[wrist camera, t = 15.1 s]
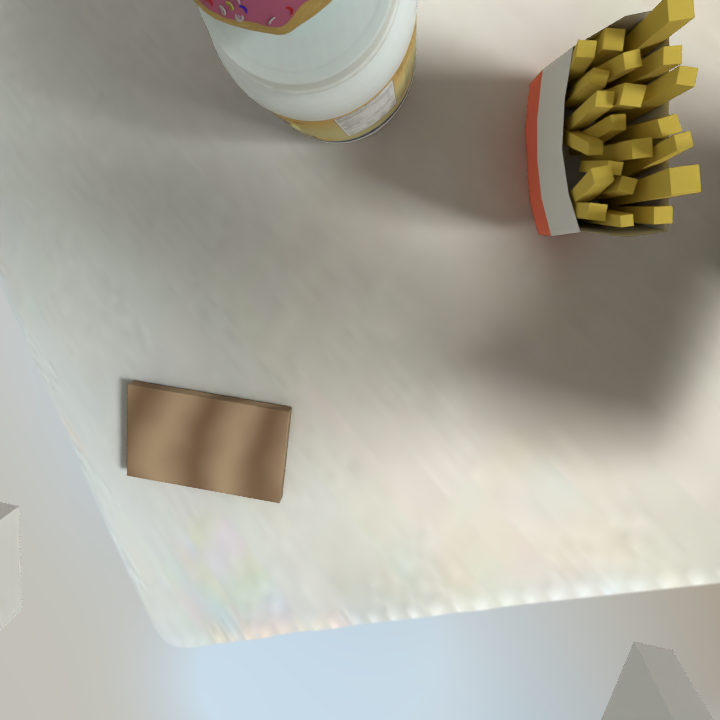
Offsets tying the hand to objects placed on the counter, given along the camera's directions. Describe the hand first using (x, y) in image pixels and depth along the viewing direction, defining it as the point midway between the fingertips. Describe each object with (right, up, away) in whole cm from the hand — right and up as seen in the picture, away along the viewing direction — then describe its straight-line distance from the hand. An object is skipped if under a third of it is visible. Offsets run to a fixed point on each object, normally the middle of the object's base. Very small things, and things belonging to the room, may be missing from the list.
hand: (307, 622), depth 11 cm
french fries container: (+17, +22, +30) cm, 41 cm away
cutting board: (-14, -3, +40) cm, 43 cm away
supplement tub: (0, +29, +30) cm, 42 cm away
